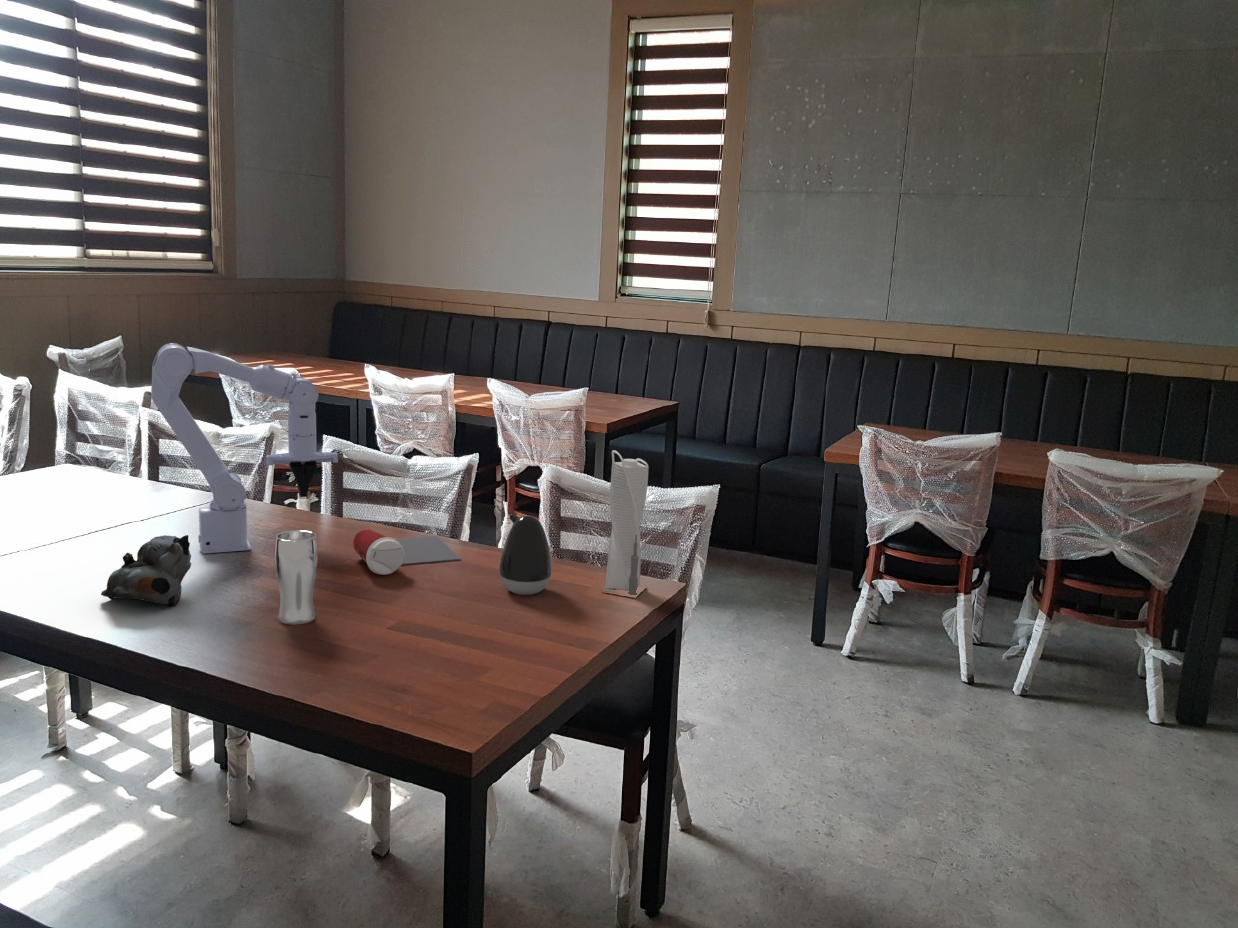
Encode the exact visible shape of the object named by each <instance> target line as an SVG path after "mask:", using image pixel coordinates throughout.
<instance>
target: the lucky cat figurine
mask: <svg viewBox="0 0 1238 928" xmlns="http://www.w3.org/2000/svg"><path fill="white" fill-rule="evenodd" d="M190 545H191V544H190V541H189V535H188V534H187V535H183V536H181V537H179V536H178V537H177V536H175V535H166V534H165V535H159V536H154V537H153V538H151V539H150V540H149V541H147V542H144V543H143V544H142V545H141V546H140V548H139V549H138V551H137V555H136V557H137V558H136V560H135V559H134V556H133V554H132V553H130V552H126V553H125V554H124V555H123V556H122V560H123V562H124V564H123V565H121V567H120V568H118V569H116V570H113V571H112V573H110V575H109V577H108V579H107V581H106V589H104V590H103V591H101V593H100V595H101V596H103V597H105V598H106V597H107V598H108V599H109V600H115V599H131V600H133V599H134V600H140V601H146V602H149V603H155V604H159V605H167V606H169V607H171V608H173V607H175V606H177V605H178V604H179V603H180V601H181V600H180V599H181V597H182V588H183V587H182V582H183V580H184V578H185V576H186V574H187V573H188V571H189V570H190V569H191V567H192V562H191V559H192V554H191V551H190Z"/></svg>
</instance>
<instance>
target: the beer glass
mask: <svg viewBox="0 0 1238 928" xmlns="http://www.w3.org/2000/svg"><path fill="white" fill-rule="evenodd" d="M317 542H318V541H317V534H316V533H315V532H313V531H310V530H302V529H301V530H300V529H295V530H285V531H281V532H279V533H277V534H276V535H275V546H274V547H275V548H274V569H275V575H276V581H277V585H278V590H279V595H280V597H279V598H280V601H279V602H280V603H279V605H280V606H279V611H278V617H277V618H278V619H277V620H278V621H279V622H280V623H282V624H285V625H292V626H297V625H304V624H308V623H311V622H313V621H314V620H315V619H316V613H315V607H314V598H313V597H314V589H315V583H316V577H317V572H318V565H319V563H318V561H319V560H318V554H319V553H318V543H317Z"/></svg>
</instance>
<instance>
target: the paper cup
mask: <svg viewBox="0 0 1238 928" xmlns="http://www.w3.org/2000/svg"><path fill="white" fill-rule="evenodd" d="M396 539H397V538H394V537H390V536H389V537H388V536H386V535H384V534H381V533H380V532H377V531H375V530H372V529H367V528H366V529H362V530H359V531H358V532H357V533H356V534H355V536H354V537H353V539H352V547H353V549H354V551H355V553H356V554H357V555H358V556H359V557H360V558H361V559H362V560H363V561H364V562H365V563H366V564H367V567H368V569H369V570H370V571H371V572H373V573H374V574H377V575H381V576H385V575H390V574H392V573H394V572H396V571H397V570H398V569H399V568H400V567H401V566H403V565H402V563H403V561H404V555H405V554H404V550H403V547H402V545H401V544H400V543H399V542H398V541H397V540H396Z"/></svg>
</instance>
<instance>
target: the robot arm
mask: <svg viewBox="0 0 1238 928" xmlns="http://www.w3.org/2000/svg"><path fill="white" fill-rule="evenodd" d="M151 368H152V372H151V388H150V389H151V391H150V392H151V393H150V396H151V400H152V402H153V404H154V406H155V407H156V409H157V410H158V411H159V413H160V414H161V415H162V416H163V419H164V420H165V421H166V423H167V424H168V426H169V427H170V428H171V430H172V431H173V433H174V434H175V436H176V437H177V439H178V440H179V441H180V443H181V445H182V446H183V447H184V449H185V451H186V452H187V453H188V454H189V456H190V457H191V459H192V460H193V462H194V463H195V465H196V466H197V468H198V469H199V470H200V472H201V473H202V475H203V477H204V478H205V480H206V482H207V484H208V486H209V489H210V492H211V494H212V496H213V500H211V502H210V503H209V506H207V507H200V508H199V509H198V520H199V521H198V522H199V524H198V527H199V534H198V544H199V545H200V551H201V554H215V553H228V552H229V553H230V552H243V551H251V550H252V547H251V545H250V542H249V539H248V521H247V520H248V515H247V514H248V513H247V512H248V511H247V509H248V508H247V502H245V501H246V496H247V490H246V488H245V486H244V484H243V483H242V480H241V478H240V476H239V475H238V474H237V473H235V472H234V471H232V470H230V469H229V468H228V467H227V465H226V464H225V463H224V461H223V460H222V458H221V457H220V456H219V455H218V452H217V451H216V450H215V448H214V447H213V446H212V444H211V443H210V441H209V439H208V438H207V436H206V435H205V433H204V432H203V430H202V428H200V426H199V425H198V423H197V421H196V419H194V418H193V415H192V414H191V412H190V411H189V410H188V408H187V407H186V406H185V404H184V402H183V401H182V399H181V398H180V396H179V395H180V392H181V389H182V386H183V383H184V381H185V380H186V379H187V378H188V376H189V375H190V373H191V372H192V371H193V372H194V374H195V375H198V374H203V373H206V372H213V373H216V374H220V375H222V376H226V377H230V378H233V379H237V380H238V381H242V382H243V381H244V382H246V383H249V385H250V388H251V389H252V391H253V392H256V393H260V394H263V395H266V396H269V397H272V398H275V399H278V400H282V401H285V400H288V413H287V428H288V429H287V431H288V432H287V433H288V435H287V436H288V437H287V439H288V440H287V441H288V442H287V444H288V445H287V446H288V452H284V453H275V454H266V465H267V466H273V465H289V468H290V470H291V472H292V474H293V476H294V479H295V482H296V485H297V489H298V493H299V494H298V495H299V497H300V498H306V497H307V498H308V495H309V489H310V485H311V482H312V479H313V476H314V474H315V473H316V471H317V469H318V465H317V463H318V464H319V463H333V464H334V463H339V454H338V453H337V452H336V451H335V452H334V451H333V452H331V451H330V452H328V451H327V452H325V451H324V452H323V451H317V413H316V403H317V401H318V400H319V393H318V390H317V387H316V385H314V383H313V382H311V381H310V380H308V379H307V378H305V377H303V376H301V375H300V376H298V374H297V373H294V372H291V373H287V372H285V371H281V370H279V369H276V366H275V365H273V364H270V363H268V364H267V365H265V364H260V365H257V366H256V367H251V366H248V365H245V364H243V363H240V362H238V361H236V360H232V359H229V358H226V357H224V356H221V355H218V354H216V353H213V352H212V351H211V352H210V351H208V350H203V349H201V348H196V347H190V346H186V347H185V346H183V345H181V344H179V343H175V342H172V343H171V342H170V343H166V344H164V345H163V346H161V347H160V348H159V349H158V351H157V353H156V355H155V357H154V359H153V362H152V367H151Z"/></svg>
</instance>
